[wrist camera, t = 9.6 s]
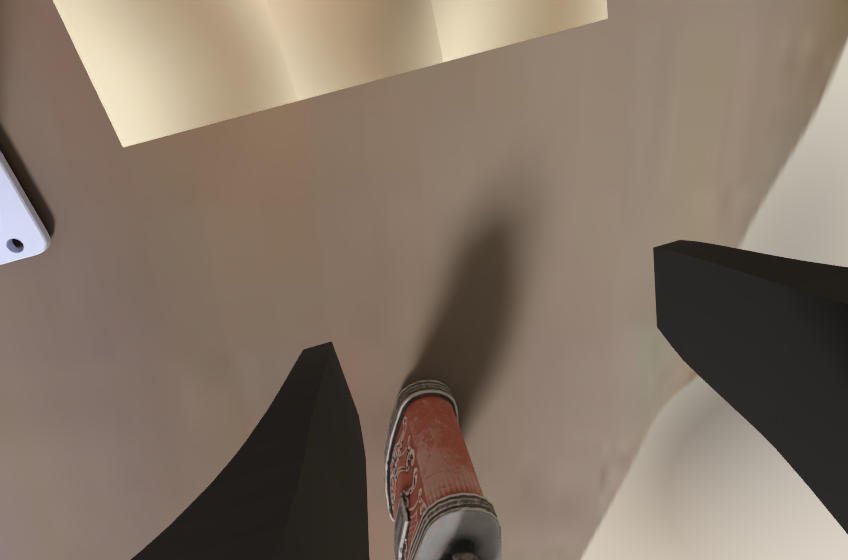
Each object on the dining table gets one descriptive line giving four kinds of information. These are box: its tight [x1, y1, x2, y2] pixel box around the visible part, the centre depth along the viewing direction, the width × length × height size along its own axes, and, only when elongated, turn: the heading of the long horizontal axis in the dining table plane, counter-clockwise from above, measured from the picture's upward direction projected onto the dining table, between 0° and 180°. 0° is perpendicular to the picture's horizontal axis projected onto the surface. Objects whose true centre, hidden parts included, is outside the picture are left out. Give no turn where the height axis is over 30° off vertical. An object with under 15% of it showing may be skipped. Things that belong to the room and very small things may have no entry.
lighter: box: [384, 380, 502, 560], centre depth 22 cm, size 8×3×10 cm, turn 174°
